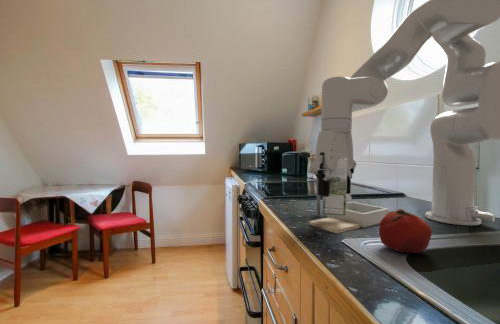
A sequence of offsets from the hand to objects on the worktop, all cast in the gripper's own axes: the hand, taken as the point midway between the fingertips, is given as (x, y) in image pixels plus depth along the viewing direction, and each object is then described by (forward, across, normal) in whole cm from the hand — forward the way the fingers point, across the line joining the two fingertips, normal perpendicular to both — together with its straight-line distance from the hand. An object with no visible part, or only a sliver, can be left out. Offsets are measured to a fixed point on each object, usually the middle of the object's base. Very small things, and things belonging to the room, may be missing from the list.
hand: (334, 194), depth 66 cm
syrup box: (+5, 0, 0) cm, 5 cm away
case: (+8, -11, -2) cm, 14 cm away
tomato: (+9, +1, +18) cm, 20 cm away
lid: (-1, -11, -9) cm, 15 cm away
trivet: (+9, 0, 0) cm, 9 cm away
